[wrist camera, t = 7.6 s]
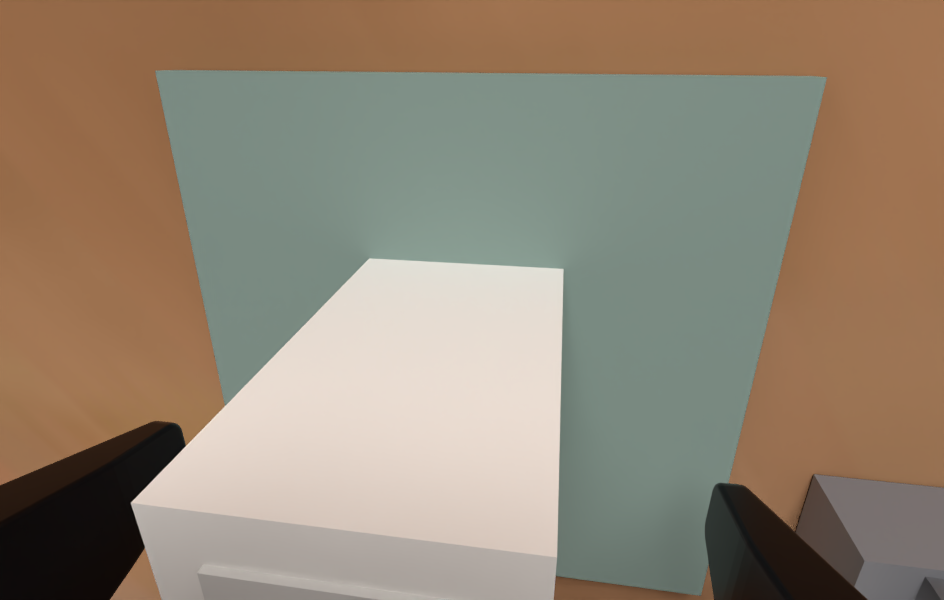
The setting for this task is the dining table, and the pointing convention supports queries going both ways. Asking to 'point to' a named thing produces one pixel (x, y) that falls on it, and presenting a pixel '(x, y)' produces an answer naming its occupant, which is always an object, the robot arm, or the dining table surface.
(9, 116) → the dining table surface
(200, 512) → the charger
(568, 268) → the rubber mat
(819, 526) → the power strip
